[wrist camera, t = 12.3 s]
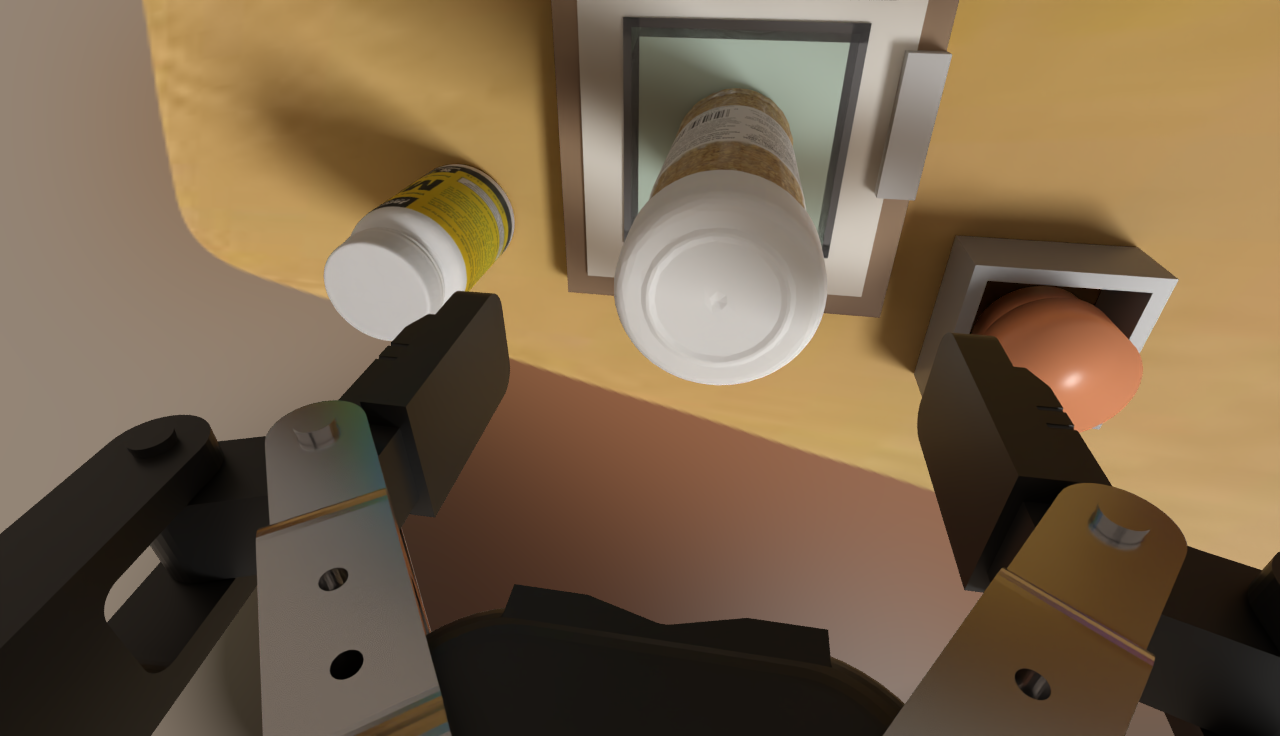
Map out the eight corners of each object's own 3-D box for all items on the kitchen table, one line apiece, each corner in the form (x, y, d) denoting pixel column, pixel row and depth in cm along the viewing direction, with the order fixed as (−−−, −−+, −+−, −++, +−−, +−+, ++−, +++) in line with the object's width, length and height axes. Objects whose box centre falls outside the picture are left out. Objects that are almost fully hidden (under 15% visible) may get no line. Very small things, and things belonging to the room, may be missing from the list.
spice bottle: (695, 219, 26) (650, 409, 15) (659, 107, 24) (576, 233, 13) (806, 186, 25) (849, 369, 14) (779, 64, 23) (803, 163, 11)
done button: (984, 274, 26) (1015, 319, 22) (1117, 284, 25) (1169, 332, 22) (949, 376, 28) (972, 429, 25) (1069, 387, 28) (1108, 443, 25)
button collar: (955, 235, 26) (975, 265, 24) (1138, 247, 25) (1178, 279, 23) (913, 374, 30) (927, 412, 28) (1071, 388, 29) (1099, 429, 27)
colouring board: (552, -146, 22) (534, -154, 20) (985, -150, 20) (1006, -159, 18) (574, 280, 30) (564, 299, 29) (875, 304, 29) (882, 326, 27)
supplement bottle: (463, 139, 28) (363, 203, 21) (537, 224, 29) (467, 309, 22) (398, 203, 30) (287, 279, 23) (470, 278, 31) (388, 371, 24)
